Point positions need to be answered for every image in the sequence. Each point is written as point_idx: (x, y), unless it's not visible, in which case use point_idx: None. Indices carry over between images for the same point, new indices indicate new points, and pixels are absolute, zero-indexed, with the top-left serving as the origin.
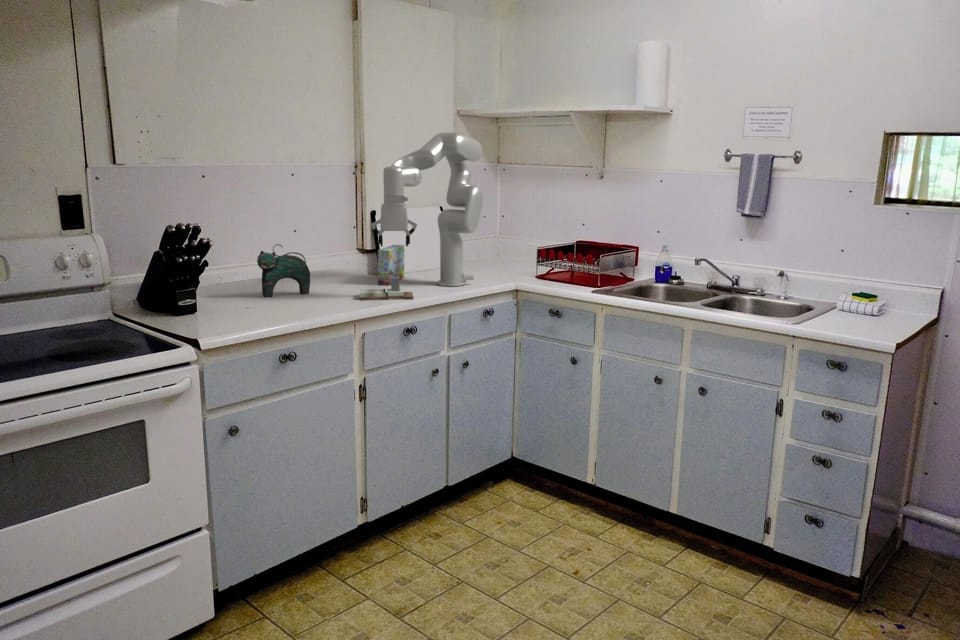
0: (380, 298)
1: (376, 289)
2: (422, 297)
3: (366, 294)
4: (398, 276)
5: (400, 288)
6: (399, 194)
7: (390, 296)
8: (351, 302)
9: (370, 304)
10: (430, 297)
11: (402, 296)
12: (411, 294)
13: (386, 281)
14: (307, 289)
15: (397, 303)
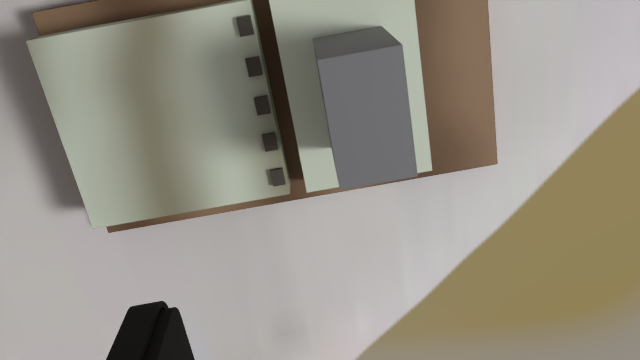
0: (255, 203)
1: (178, 45)
2: (560, 73)
3: (144, 216)
4: (399, 67)
5: (392, 1)
6: None
7: None
8: (79, 293)
9: (222, 338)
10: (621, 68)
11: None
12: (481, 71)
13: None
14: None
15: (388, 295)
